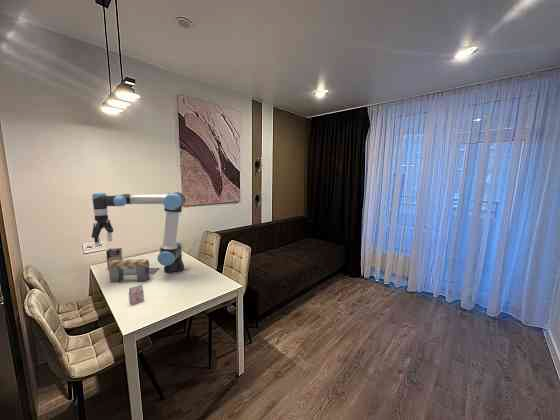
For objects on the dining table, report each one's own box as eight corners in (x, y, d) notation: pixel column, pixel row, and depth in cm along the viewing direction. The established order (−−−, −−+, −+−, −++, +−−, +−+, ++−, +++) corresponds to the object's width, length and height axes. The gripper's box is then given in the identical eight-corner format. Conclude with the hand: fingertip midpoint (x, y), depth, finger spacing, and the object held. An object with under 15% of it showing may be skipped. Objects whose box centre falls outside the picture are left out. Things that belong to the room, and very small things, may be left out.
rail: (148, 265, 167) (148, 259, 167) (145, 268, 163) (145, 261, 162) (113, 266, 164) (113, 259, 164) (109, 269, 159) (108, 262, 159)
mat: (159, 268, 188) (159, 267, 187) (153, 273, 177) (153, 273, 177) (120, 269, 183) (120, 268, 183) (112, 275, 173) (112, 274, 173)
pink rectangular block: (129, 302, 136) (128, 287, 135) (141, 298, 142) (140, 283, 140) (131, 305, 134) (130, 289, 133) (144, 300, 139) (143, 285, 138)
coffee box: (107, 270, 181) (105, 251, 179) (110, 267, 187) (108, 248, 185) (120, 269, 184) (119, 250, 181) (123, 266, 190) (121, 247, 187)
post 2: (150, 277, 170) (149, 262, 168) (145, 282, 163) (144, 265, 161) (141, 278, 169) (140, 262, 167) (136, 282, 162) (135, 266, 160)
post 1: (124, 278, 168) (123, 262, 166) (118, 283, 160) (117, 266, 159) (115, 278, 167) (114, 262, 165) (109, 283, 160) (108, 266, 158)
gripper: (106, 212, 171) (109, 239, 174) (82, 217, 146) (86, 249, 149) (117, 211, 172) (119, 238, 175) (94, 217, 147) (98, 249, 150)
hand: (104, 243), depth 162 cm, fingers open, 13 cm apart
